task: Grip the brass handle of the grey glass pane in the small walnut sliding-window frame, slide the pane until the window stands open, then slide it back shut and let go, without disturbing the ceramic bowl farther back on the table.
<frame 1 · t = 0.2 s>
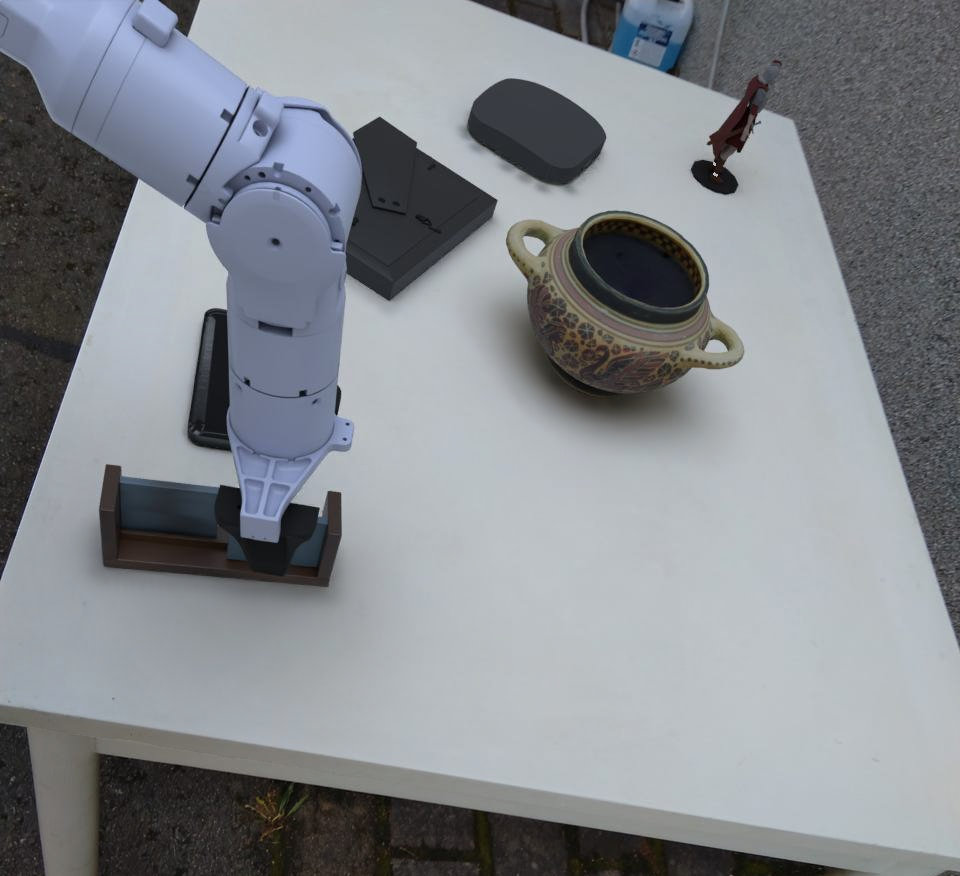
hand: (279, 522, 60), 10 cm above the table, tool pointing down, fingers open, 7 cm apart
figurine: (711, 178, 121), on the table
media streaming box: (533, 141, 113), on the table
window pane: (278, 525, 66), point 5 cm above the table, slide at 0.0 cm, touching window frame
ceramic bowl: (588, 367, 94), on the table
picture frame: (380, 217, 96), on the table
window frame: (220, 555, 70), on the table
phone: (244, 386, 79), on the table
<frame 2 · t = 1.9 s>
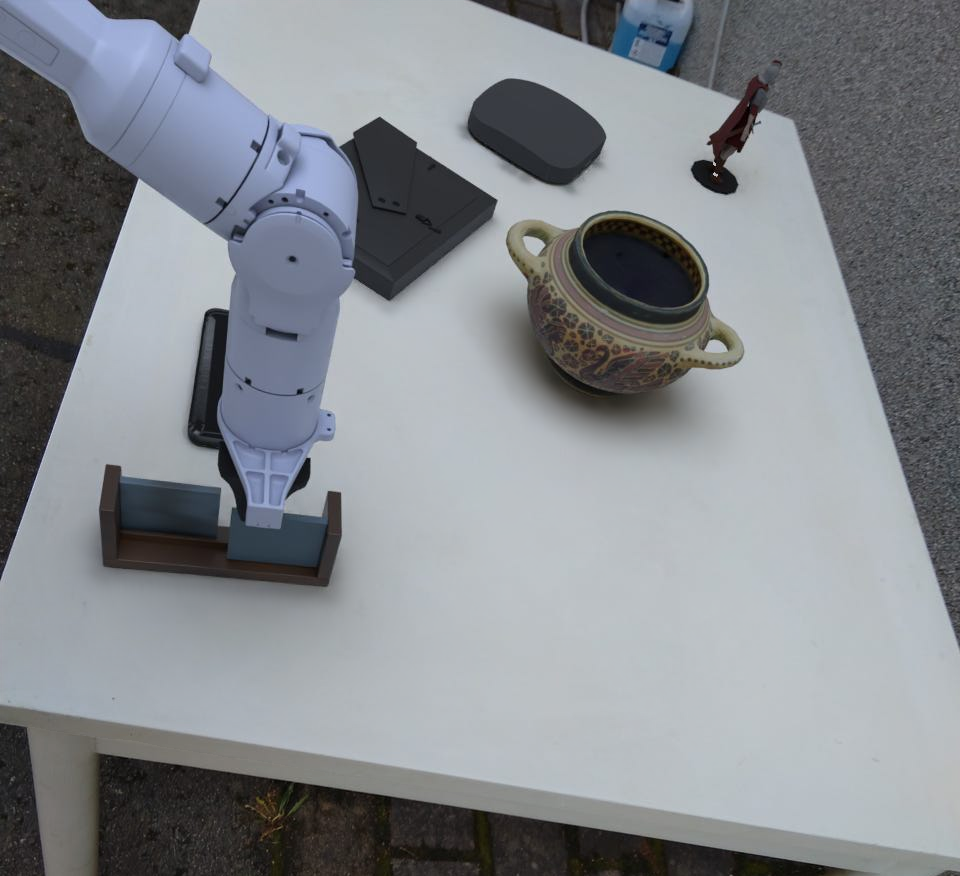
hand: (256, 508, 64), 7 cm above the table, tool pointing down, fingers closed on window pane
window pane: (278, 525, 66), point 5 cm above the table, slide at 0.0 cm, touching gripper
everything else where it was.
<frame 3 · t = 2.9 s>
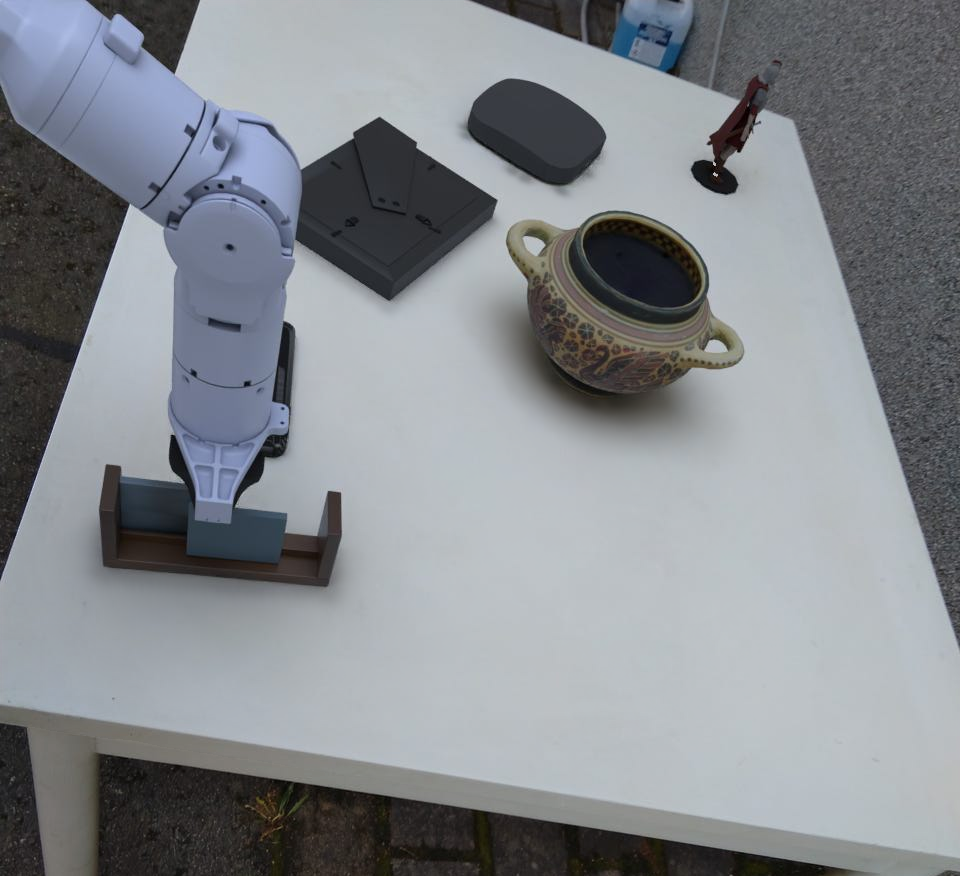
hand: (213, 503, 63), 7 cm above the table, tool pointing down, fingers closed on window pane
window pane: (237, 521, 65), point 5 cm above the table, slide at 2.8 cm, touching gripper
everything else where it was.
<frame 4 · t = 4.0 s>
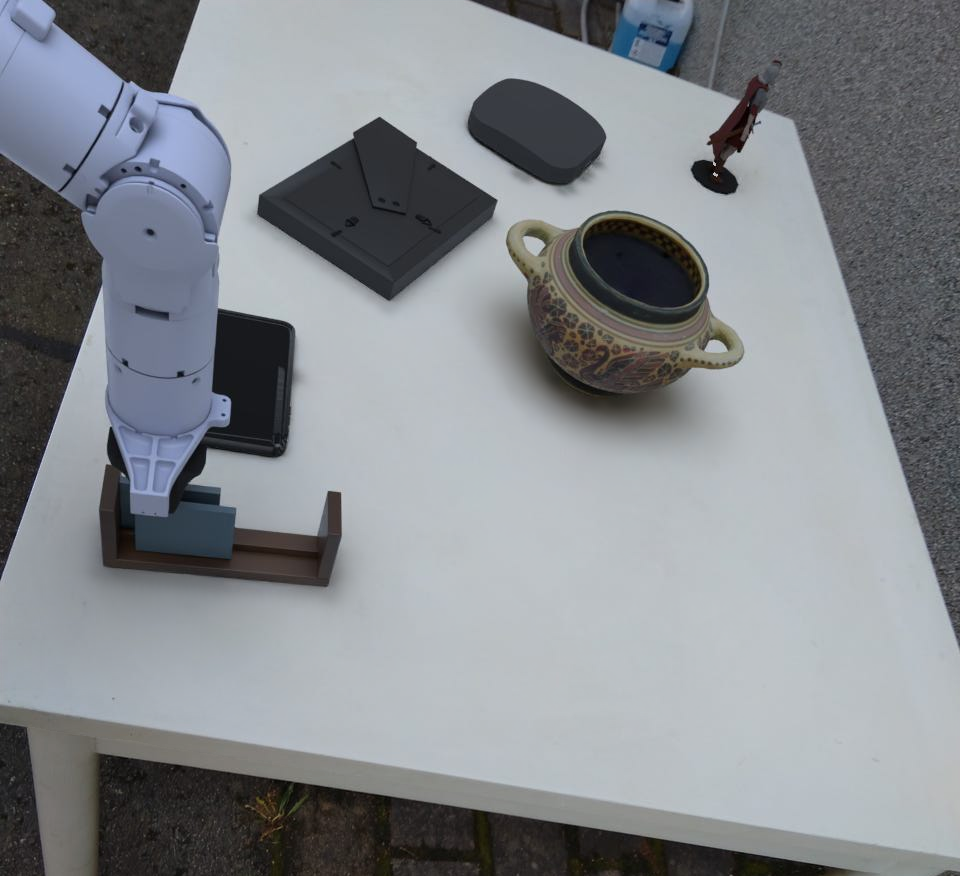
hand: (159, 497, 62), 7 cm above the table, tool pointing down, fingers closed on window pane
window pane: (185, 516, 64), point 5 cm above the table, slide at 6.3 cm, touching gripper
everything else where it was.
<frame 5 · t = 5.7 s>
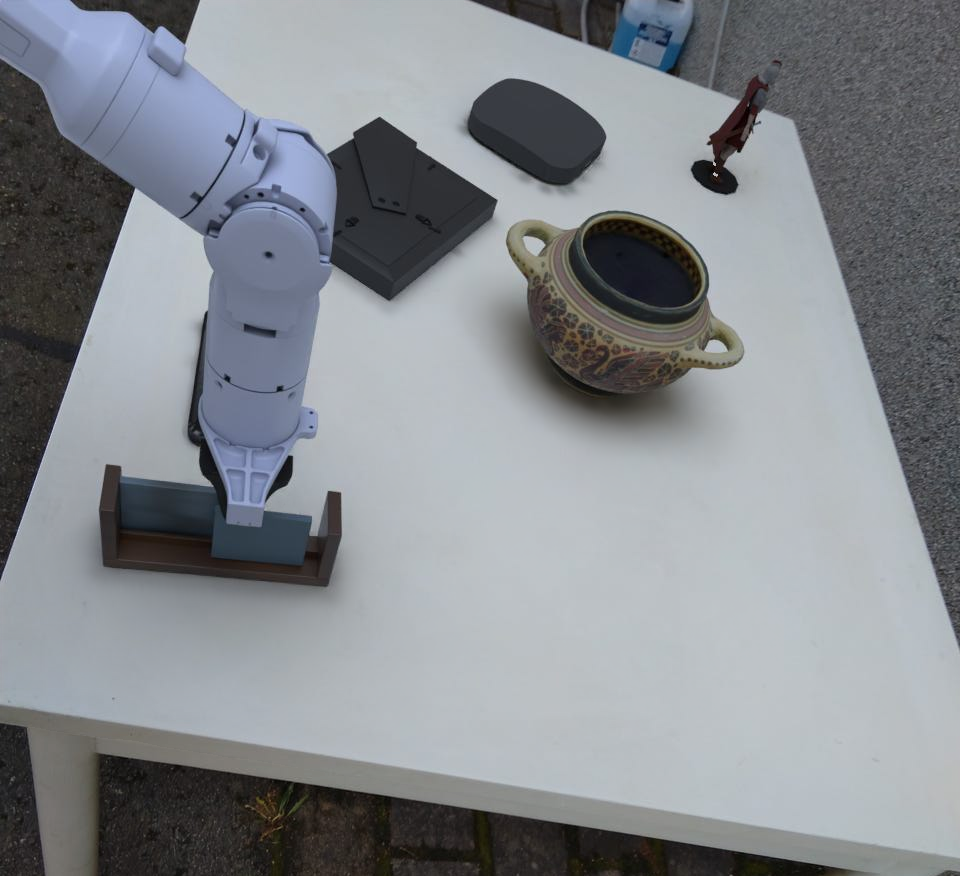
hand: (239, 506, 64), 7 cm above the table, tool pointing down, fingers closed on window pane
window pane: (262, 524, 66), point 5 cm above the table, slide at 1.1 cm, touching gripper
everything else where it was.
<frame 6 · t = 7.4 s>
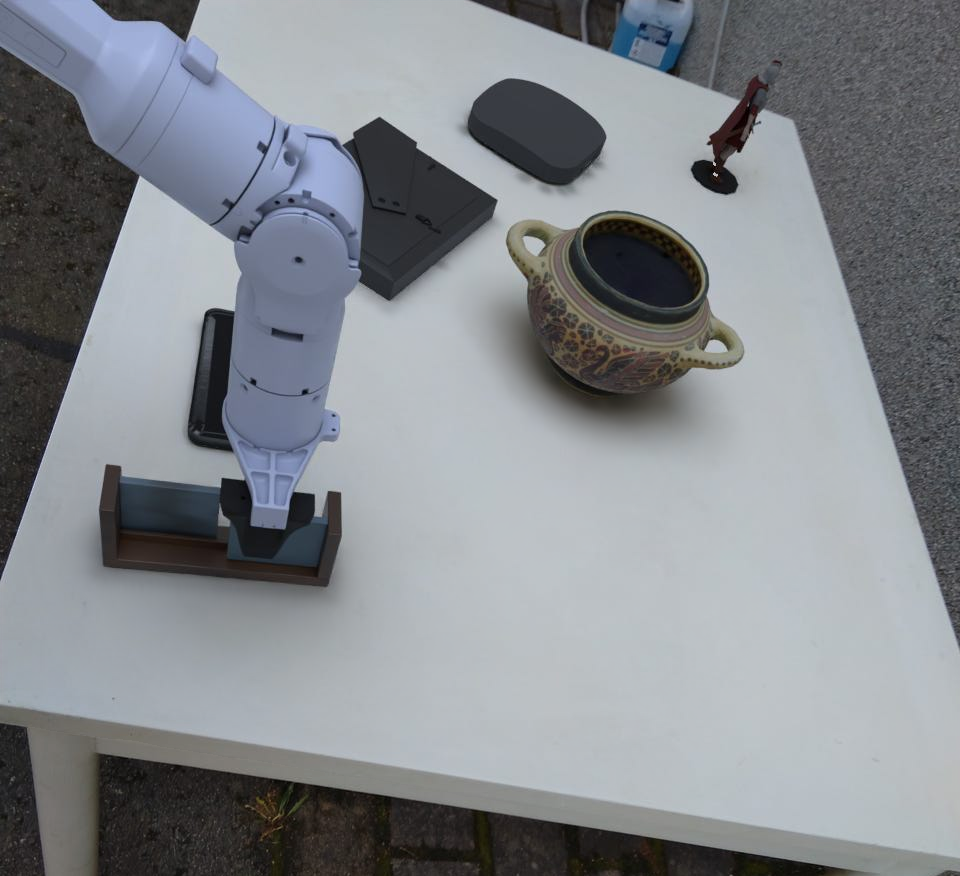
hand: (260, 508, 64), 7 cm above the table, tool pointing down, fingers open, 7 cm apart
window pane: (278, 525, 66), point 5 cm above the table, slide at 0.0 cm, touching window frame
everything else where it was.
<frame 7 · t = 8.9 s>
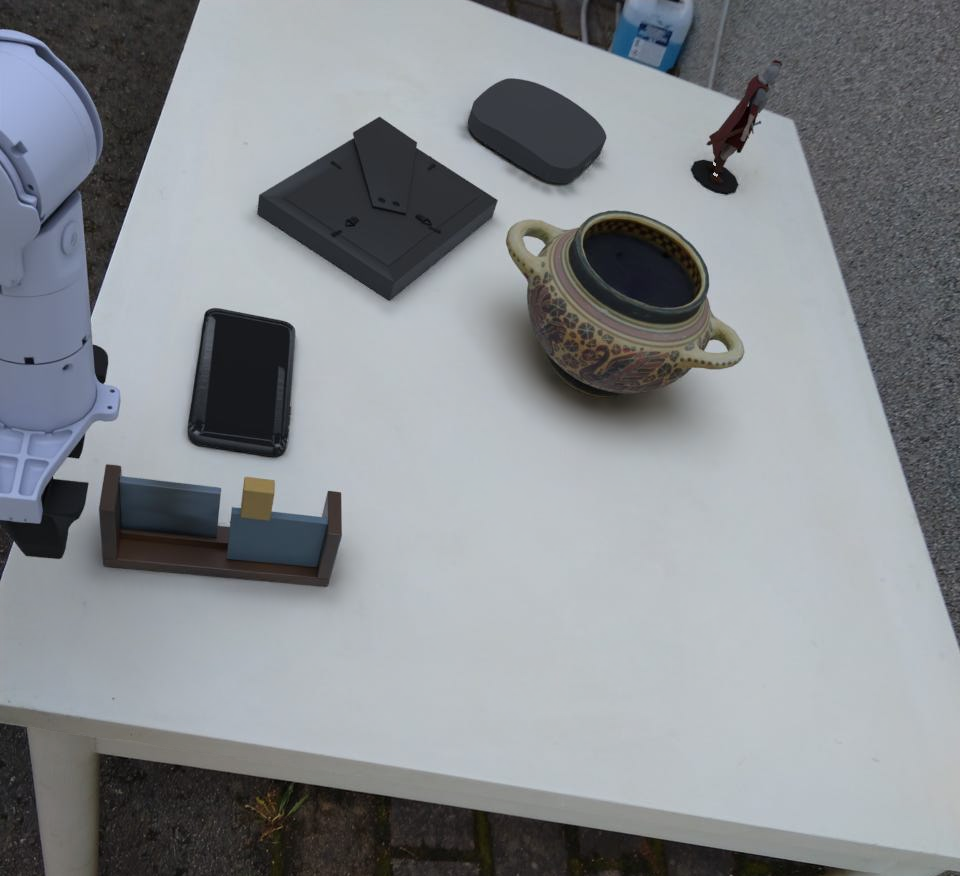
hand: (53, 501, 56), 10 cm above the table, tool pointing down, fingers open, 7 cm apart
nothing on the table moved.
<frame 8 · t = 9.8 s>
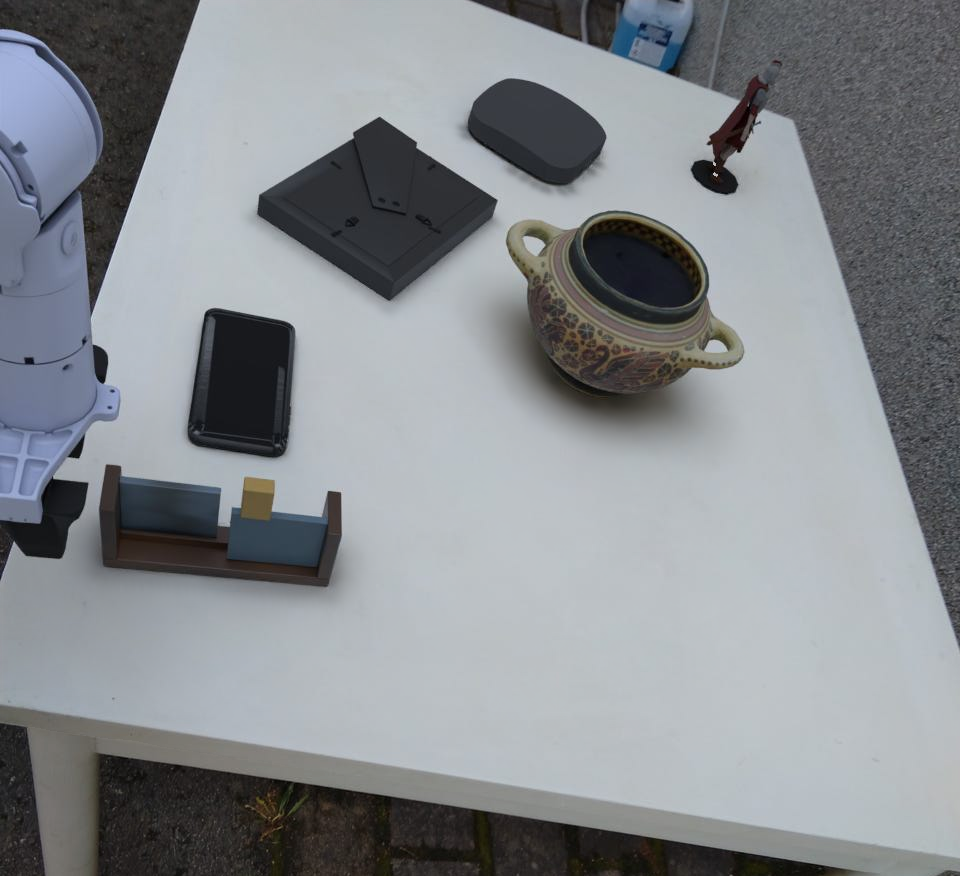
hand: (53, 501, 56), 10 cm above the table, tool pointing down, fingers open, 7 cm apart
nothing on the table moved.
at the end: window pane pulled out 6.3 cm at the most during the clip, back to where it started at the end; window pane slide at 0.0 cm; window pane touching window frame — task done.
